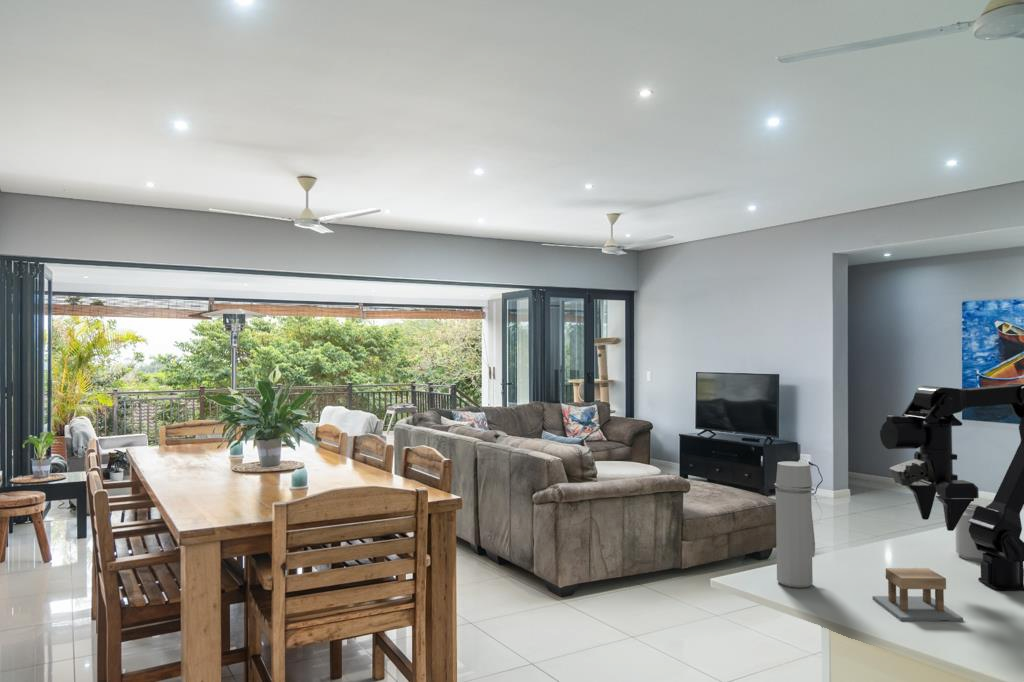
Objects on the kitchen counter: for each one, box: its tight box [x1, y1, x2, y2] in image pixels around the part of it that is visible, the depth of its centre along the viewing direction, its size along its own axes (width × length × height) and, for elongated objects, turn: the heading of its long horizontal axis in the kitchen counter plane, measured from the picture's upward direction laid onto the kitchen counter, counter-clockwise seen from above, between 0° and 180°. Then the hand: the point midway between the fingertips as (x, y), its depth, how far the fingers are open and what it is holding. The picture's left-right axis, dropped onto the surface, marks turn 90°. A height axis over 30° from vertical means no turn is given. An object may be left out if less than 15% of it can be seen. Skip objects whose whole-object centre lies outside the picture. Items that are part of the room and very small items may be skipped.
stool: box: [885, 567, 947, 612], centre depth 133 cm, size 6×8×6 cm
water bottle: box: [773, 460, 816, 589], centre depth 149 cm, size 9×8×25 cm
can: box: [954, 503, 987, 562], centre depth 166 cm, size 8×8×12 cm
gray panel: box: [872, 595, 964, 622], centre depth 133 cm, size 11×11×1 cm
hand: (937, 524), depth 145 cm, fingers open, 9 cm apart
